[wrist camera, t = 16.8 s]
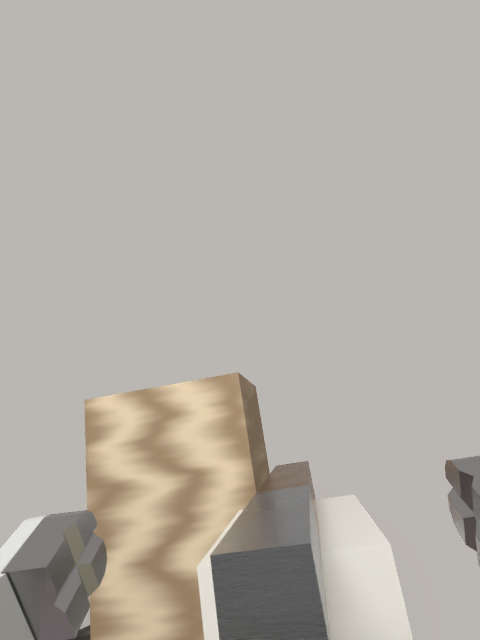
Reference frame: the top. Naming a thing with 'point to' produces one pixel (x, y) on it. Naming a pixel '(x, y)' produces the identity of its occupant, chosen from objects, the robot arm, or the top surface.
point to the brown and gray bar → (273, 564)
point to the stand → (167, 497)
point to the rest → (340, 576)
